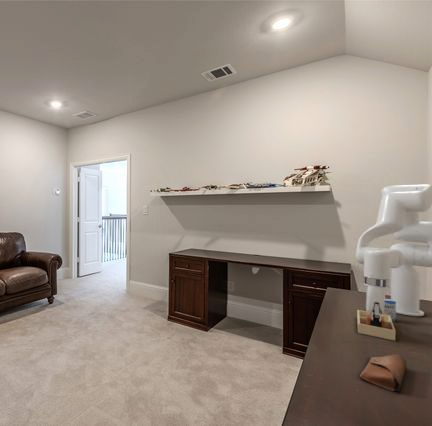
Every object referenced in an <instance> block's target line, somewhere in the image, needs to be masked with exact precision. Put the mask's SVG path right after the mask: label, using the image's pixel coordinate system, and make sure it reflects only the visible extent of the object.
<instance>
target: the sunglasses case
mask: <svg viewBox="0 0 432 426" xmlns="http://www.w3.org/2000/svg"><path fill="white" fill-rule="evenodd" d="M406 370H407V360H406V359H405V357H404V356H402V355H401V354H391V355H384V356H373V357H372V356H371V357H370V358H369V360H368V363H367V364H366V366H365V367H364V369H363V370H362V372H361V373H360V374H359V378H361V379H362V380H364V381H366V382H369V383H370V384H373V385H375V386H378V387H380V388H383V389H386V390H388V391H391V392H397V391H399V390H401V386H402V384H403V381H404V376H405V372H406Z"/></svg>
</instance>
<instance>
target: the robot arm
mask: <svg viewBox="0 0 432 426" xmlns="http://www.w3.org/2000/svg"><path fill="white" fill-rule="evenodd" d="M380 195H381V198H380V202H379V208H378V213H377V218H376V223H374V225H372V226H370V227H369V228H367V229H366V230H365V231H364V232H363V233H362V234H361V235H360V237H359V238H358V240H357V245H356V249H355V259H356V261H357V262H358V264H361V265H363V285H364V286H365V287H366V293H365V294H366V295H365V310H366V311H367V312H369V311H370V315H371V320H370V326H375V327H380V328H382V322H381V314H384V306H385V299H386V289H390V299H392V300H394V301H395V302H396V314H399V315H403V316H409V317H423V316H425V312H424V311H423V310H421V309H420V297H421V275H420V273H419V272H418V270H417V269H416V268H415V266H416V267H424V268H432V221H427V220H426V221H423V220H420V219H419V213H425V212H427V211H429V210H430V209H431V207H432V184H429V183H427V184H426V183H423V184H422V183H421V184H396V185H388V186H385V187H382V189H381V191H380ZM391 234H393V235H392V236H393V237H394V239H395V240H397V241H400V242H409V243H394V244H392V245H391V246H390V247H389V248H385V247H384V248H383V247H376V246H369V244H370V243H371V242H372V241H373V240H375V239H377V238H380V237H383V236H387V235H391ZM414 243H415V244H414ZM416 243H419V244H416ZM420 243H421V244H420ZM422 243H423V244H422ZM426 244H427V245H426Z"/></svg>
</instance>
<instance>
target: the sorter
mask: <svg viewBox="0 0 432 426" xmlns="http://www.w3.org/2000/svg"><path fill="white" fill-rule="evenodd" d="M356 311H357V314H356V315H357V316H356V319H357V320H356V322H357V333H358V334H361V335H367V336H371V337H375V338H381V339H384V340H385V339H386V340H390V341H394V342H395V341H396V329H395V328H396V327H395V326H394V323H393V321H392V320H391V317H390V315H384V314H381V317H384V321H385V326H384V328H380V327H375V326H370V325H366V316H367V314H369V315H370V312H367V311H365V310H360V309H356Z"/></svg>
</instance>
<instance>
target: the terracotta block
mask: <svg viewBox="0 0 432 426" xmlns="http://www.w3.org/2000/svg"><path fill="white" fill-rule="evenodd" d="M370 320H371V315H369V314H367V316H366V325H370ZM381 322H382V328H384V326H385V321H384V317H381Z"/></svg>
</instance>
